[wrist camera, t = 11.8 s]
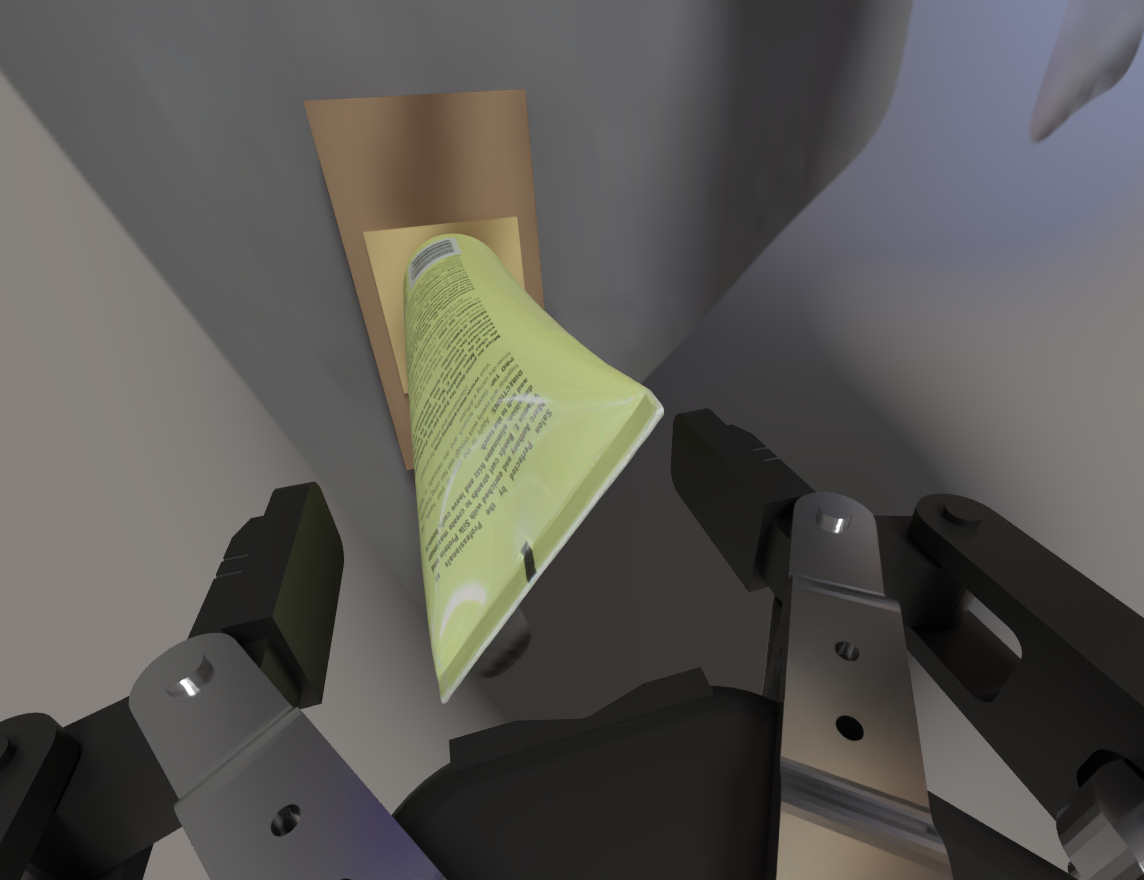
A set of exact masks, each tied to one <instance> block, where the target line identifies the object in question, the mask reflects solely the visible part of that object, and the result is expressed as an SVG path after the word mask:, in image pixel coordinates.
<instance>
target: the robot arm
mask: <svg viewBox="0 0 1144 880" xmlns="http://www.w3.org/2000/svg"><path fill="white" fill-rule="evenodd" d="M671 475H672V480H673V483H674V486H675V489H676V491H677V493H678V494H679V495H680V497H681V498H682V500H683V501H684V502H685V504H686V505H687V507H688V508H689V509H690V511H691V512H692V514H693V515H694V516H695V518H696V519H697V521H698V522H699V523H700V525H701V526H702V528H703V529H704V530H705V532H706V533H707V534H708V536H709V537H710V539H711V540H712V541H713V543H714V544H715V546H716V547H717V548H718V550H719V551H720V553H721V554H722V555H723V557H724V558H725V560H726V561H727V562H728V564H729V565H730V566H731V568H732V569H733V571H734V572H735V573H736V575H737V576H738V578H739V579H740V580H741V582H742V583H743V585H744V586H745V587H746V589H747V590H748V591H749V592H751V591H754V590H758V589H762V588H766V587H769V588H770V589H771V590H772V592H773V593H774V598H773V603H772V610H771V620H770V628H769V629H770V630H769V638H768V647H767V657H766V666H765V675H764V683H763V690H762V695H758V694H756V693H752V692H749V691H746V690H741V689H737V688H732V687H722V686H710V685H709V683H708V681H707V679H706V677H705V675H704V673H703V671H702V670H701V668H700V667H699V668H696V669H692V670H689V671H685V672H682V673H678V674H675V675H672V676H668V677H665V678H661V679H658V680H654V681H651V682H648V683H644V684H642V685H640V686H639V687H637V688H635V689H634V690H632V691H630V692H629V693H627V694H625V695H624V696H622V697H621V698H619V699H617V700H616V701H614V702H612V703H611V704H609V705H608V706H606V707H604V708H602V709H601V710H599V711H598V712H596V713H594V714H593V715H591V716H589V717H586V718H583V719H565V720H564V719H563V720H528V721H513V722H510V723H506V724H503V725H499V726H496V727H493V728H489V729H485V730H482V731H479V732H475V733H472V734H468V735H465V736H461V737H458V738H454V739H451V740H449V746H450V763H449V764H447V765H445V766H444V767H442V768H441V769H439V770H438V771H437V772H435V773H434V774H432V775H431V776H430V777H429V778H427V779H426V780H424V781H423V782H422V783H421V784H420V785H419V786H418V787H417V788H416V789H415V790H414V791H413V792H411V793H410V794H409V795H408V796H407V798H406V799H405V800H404V801H403V802H402V803H401V804H400V806H399V807H398V808H397V809H396V810H395V812H394V813H393V814H392V815H391V814H390V813H389V812H388V811H387V810H386V809H385V807H384V806H383V805H382V804H381V803H380V802H379V801H378V799H377V798H376V797H375V796H374V795H373V793H372V792H371V791H370V790H369V789H368V788H367V787H366V785H365V784H364V783H363V782H362V781H361V780H360V778H359V777H358V776H357V775H356V774H355V773H354V771H353V770H352V769H351V768H350V767H349V766H348V764H347V763H346V762H345V761H344V760H343V759H342V758H341V756H340V755H339V754H338V753H337V752H336V751H335V749H334V748H333V747H332V746H331V745H330V743H329V742H328V741H327V740H326V739H325V738H324V737H323V735H322V734H321V733H320V732H319V731H318V730H317V728H316V727H315V726H314V725H313V724H312V723H311V721H310V720H309V719H308V718H307V717H306V716H305V714H303V712H302V711H301V710H300V709H303V708H307V707H311V706H314V705H318V704H321V703H322V698H323V692H324V685H325V679H326V672H327V667H328V660H329V653H330V647H331V642H332V635H333V628H334V623H335V616H336V610H337V604H338V597H339V592H340V585H341V579H342V573H343V566H344V552H343V546H342V541H341V538H340V535H339V533H338V530H337V528H336V525H335V523H334V520H333V518H332V516H331V513H330V510H329V508H328V505H327V503H326V500H325V498H324V496H323V493H322V491H321V488H320V487H319V485H318V484H317V483H316V482H310V483H304V484H299V485H293V486H288V487H283V488H278V489H275V490H274V491H273V493H272V496H271V498H270V501H269V503H268V506H267V509H266V512H265V514H264V516H260V517H255V518H251V519H250V520H249V521H248V522H247V523H246V524H245V525H244V526H243V527H242V528H241V529H240V530H239V531H238V532H237V533H236V534H235V535H234V536H233V537H232V539H231V541H230V544H229V546H228V548H227V551H226V553H225V555H224V557H223V558H224V561H223V562H221V564H220V566H219V569H218V571H217V573H216V577H217V578H216V579H214V580H213V582H212V584H211V587H210V589H209V591H208V593H207V596H206V598H205V600H204V603H203V605H202V607H201V609H200V612H199V614H198V616H197V618H196V621H195V623H194V625H193V627H192V630H191V632H190V634H189V636H188V639H187V640H186V641H183V642H181V643H179V644H177V645H175V646H174V647H172V648H170V649H168V650H167V651H166V652H164V653H163V654H162V655H160V656H159V657H158V658H156V659H155V660H154V661H153V662H152V663H151V664H150V665H149V666H148V667H147V668H146V669H145V670H144V671H143V672H142V673H141V675H140V676H139V677H138V679H137V680H136V682H135V684H134V685H133V688H132V690H131V692H130V696H128V697H126V698H124V699H122V700H120V701H118V702H116V703H114V704H112V705H110V706H107V707H105V708H103V709H101V710H99V711H97V712H95V713H93V714H91V715H89V716H86V717H84V718H82V719H80V720H78V721H76V722H74V723H71V724H70V725H67V726H65V727H62V726H61V725H59V724H58V723H57V722H56V721H55V720H54V719H53V718H52V717H51V716H49V715H47V714H44V713H27V714H23V715H18V716H15V717H12V718H9V719H6V720H4V721H1V722H0V880H143V876H144V873H145V870H146V867H147V863H148V860H149V857H150V854H151V851H152V847H153V844H154V843H155V842H157V841H159V840H160V839H162V838H164V837H165V836H167V835H169V834H170V833H172V832H174V831H175V830H177V829H179V828H181V827H183V829H184V831H185V833H186V835H187V837H188V838H189V840H190V842H191V844H192V846H193V848H194V850H195V852H196V853H197V855H198V857H199V859H200V861H201V863H202V865H203V867H204V868H205V871H206V872H207V874H208V876H209V878H210V880H1144V618H1143V617H1142V616H1140V615H1139V614H1137V613H1136V612H1135V611H1133V610H1132V609H1130V608H1129V607H1128V606H1126V605H1125V604H1123V603H1122V602H1121V601H1119V600H1118V599H1116V598H1115V597H1114V596H1112V595H1111V594H1110V593H1108V592H1107V591H1105V590H1104V589H1103V588H1101V587H1100V586H1098V585H1097V584H1096V583H1094V582H1093V581H1091V580H1090V579H1089V578H1087V577H1086V576H1084V575H1083V574H1081V573H1080V572H1079V571H1077V570H1076V569H1075V568H1073V567H1072V566H1070V565H1069V564H1068V563H1066V562H1065V561H1063V560H1062V559H1061V558H1059V557H1058V556H1056V555H1055V554H1054V553H1052V552H1051V551H1049V550H1048V549H1046V548H1045V547H1044V546H1042V545H1041V544H1040V543H1038V542H1037V541H1035V540H1034V539H1033V538H1031V537H1030V536H1028V535H1027V534H1025V533H1024V532H1023V531H1021V530H1020V529H1019V528H1017V527H1016V526H1014V525H1013V524H1012V523H1010V522H1009V521H1007V520H1006V519H1005V518H1003V517H1002V516H1000V515H999V514H998V513H996V512H995V511H993V510H992V509H990V508H989V507H987V506H985V505H983V504H981V503H979V502H977V501H974V500H972V499H969V498H966V497H962V496H957V495H951V494H931V495H927V496H925V497H923V498H921V499H920V500H919V501H918V503H917V505H916V508H915V510H914V513H913V515H912V516H874V515H872V514H871V513H870V512H869V510H867V509H866V508H865V507H864V506H862V505H861V504H860V503H858V502H856V501H854V500H852V499H850V498H848V497H845V496H842V495H838V494H834V493H823V492H819V493H817V492H815V491H814V490H813V489H812V488H811V487H810V486H809V485H808V484H807V483H806V482H804V481H803V480H802V479H801V478H800V477H799V476H798V475H797V474H796V473H795V472H793V471H792V470H791V469H790V468H789V467H788V466H787V465H786V464H785V463H784V462H782V461H781V460H780V459H777V456H776V455H775V454H774V453H773V452H771V451H770V450H769V449H766V447H765V445H764V444H763V443H762V442H760V441H759V440H758V439H757V438H756V437H755V436H754V435H753V434H752V433H749V432H747V431H745V430H743V429H741V428H739V427H737V426H734V425H726V424H725V423H724V422H723V421H722V420H721V419H719V418H718V417H717V416H716V415H715V414H714V413H713V412H712V411H711V410H710V409H701V410H697V411H691V412H686V413H680V414H677V415H676V416H675V418H674V423H673V439H672V456H671ZM975 597H976V598H977V599H978V600H979V601H981V602H982V603H983V604H984V605H985V606H986V607H987V608H988V609H989V610H990V611H991V612H993V613H994V614H995V615H996V616H997V617H998V618H999V619H1000V620H1001V621H1003V622H1004V623H1005V624H1006V625H1007V626H1008V627H1009V628H1010V629H1011V630H1012V631H1013V632H1014V634H1015V635H1016V637H1017V638H1018V640H1019V642H1020V645H1021V649H1022V658H1021V659H1020V658H1019V657H1018V656H1017V655H1016V654H1015V653H1014V652H1013V651H1012V650H1011V649H1010V648H1009V647H1008V646H1006V645H1005V644H1004V643H1003V642H1002V641H1001V640H1000V639H999V638H998V637H997V636H996V635H995V634H993V632H992V631H990V629H988V628H987V627H986V626H985V625H984V624H983V623H982V622H981V621H980V620H979V619H978V618H977V617H976V616H975V615H974V614H973V613H971V612H970V611H969V610H968V609H969V607H970V605H971V603H972V601H973V600H974V598H975ZM906 648H907V649H906ZM907 650H908V651H909V652H910V653H911V654H912V655H913V656H914V657H915V659H916V660H917V661H918V662H919V664H920V665H921V666H922V667H923V668H924V669H925V670H926V672H927V673H928V674H929V675H930V676H931V677H932V678H933V680H934V681H935V682H936V683H937V684H938V685H939V687H940V688H941V689H942V690H943V691H944V692H945V694H946V695H947V696H948V697H949V698H950V699H951V701H952V702H953V703H954V704H955V705H956V706H957V707H958V709H959V710H960V711H961V712H962V713H963V714H964V715H965V717H966V718H967V719H968V720H969V721H970V722H971V724H972V725H973V726H974V727H975V728H976V729H977V731H978V732H979V733H980V734H981V735H982V736H983V737H984V738H985V740H986V741H987V742H988V743H989V744H990V745H991V747H992V748H993V749H994V750H995V751H996V753H997V754H998V755H999V756H1000V757H1001V758H1002V759H1003V761H1004V762H1005V763H1006V764H1007V765H1008V766H1009V768H1010V769H1011V770H1012V771H1013V772H1014V773H1015V774H1016V776H1017V777H1018V778H1019V779H1020V780H1021V781H1022V782H1023V784H1024V785H1025V786H1026V787H1027V788H1028V789H1029V791H1030V792H1031V793H1032V794H1033V795H1034V796H1035V797H1036V799H1037V800H1038V801H1039V802H1040V803H1041V805H1042V806H1043V807H1044V808H1045V809H1046V810H1047V811H1048V813H1049V814H1050V815H1051V816H1052V817H1053V818H1054V820H1055V821H1056V829H1057V833H1058V837H1059V840H1060V842H1061V844H1062V847H1063V849H1064V850H1065V852H1066V854H1067V856H1068V858H1069V859H1070V861H1069V863H1068V873H1069V874H1068V873H1067V872H1065V871H1063V870H1062V869H1060V868H1058V867H1056V866H1055V865H1053V864H1051V863H1050V862H1048V861H1046V860H1045V859H1043V858H1041V857H1039V856H1038V855H1036V854H1034V853H1032V852H1031V851H1029V850H1028V849H1026V848H1024V847H1022V846H1021V845H1019V844H1017V843H1016V842H1014V841H1012V840H1010V839H1009V838H1007V837H1005V836H1004V835H1002V834H1000V833H999V832H997V831H995V830H994V829H992V828H990V827H989V826H987V825H985V824H984V823H982V822H980V821H978V820H977V819H975V818H973V817H972V816H970V815H968V814H967V813H965V812H963V811H961V810H960V809H958V808H956V807H955V806H953V805H951V804H950V803H948V802H946V801H944V800H943V799H941V798H940V797H938V796H936V795H934V794H933V793H931V792H929V791H928V790H927V786H926V779H925V772H924V766H923V758H922V752H921V745H920V738H919V731H918V724H917V717H916V711H915V704H914V697H913V691H912V683H911V677H910V670H909V663H908V656H907Z"/></svg>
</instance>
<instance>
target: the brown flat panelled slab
mask: <svg viewBox="0 0 1144 880" xmlns="http://www.w3.org/2000/svg"><path fill="white" fill-rule="evenodd" d="M303 102H304V106H305V109H306V113H307V116H308V120H309V124H310V127H311V131H312V134H313V138H314V141H315V145H316V149H317V152H318V156H319V159H320V163H321V167H322V170H323V174H324V177H325V181H326V184H327V188H328V192H329V195H330V199H331V202H332V206H333V209H334V213H335V217H336V220H337V224H338V227H339V231H340V234H341V238H342V242H343V245H344V249H345V252H346V256H347V259H348V263H349V267H350V270H351V274H352V277H353V281H354V284H355V288H356V292H357V295H358V299H359V302H360V306H361V309H362V313H363V317H364V320H365V324H366V327H367V331H368V334H369V338H370V342H371V345H372V349H373V352H374V356H375V360H376V363H377V367H378V370H379V374H380V377H381V381H382V385H383V388H384V392H385V395H386V399H387V402H388V406H389V410H390V413H391V417H392V420H393V424H394V427H395V431H396V435H397V438H398V442H399V445H400V449H401V452H402V456H403V460H404V463H405V467H406V470H411V469H414V462H413V451H412V438H411V424H410V410H409V395H408V381H407V364H406V347H405V329H404V301H403V279H404V272H405V269H406V265H407V263H408V261H409V259H410V257H411V256H412V254H413V253H414V251H415V250H416V249H417V248H418V247H419V246H420V245H421V244H423V243H424V242H426V241H428V240H429V239H431V238H434V237H436V236H439V235H443V234H463V235H467V236H470V237H473V238H476V239H478V240H479V241H481V242H483V243H484V244H485V245H487V246H488V247H489V248H490V249H491V250H492V251H493V252H494V253H495V254H496V255H497V257H498V258H499V259H500V261H501V262H502V263H503V264H504V266H505V267H506V268H507V270H508V271H509V272H510V273H511V275H512V276H513V277H514V278H515V280H516V281H517V282H518V283H519V284H520V285H521V287H522V288H523V289H524V290H525V291H526V292H527V293H528V294H529V295H530V296H531V297H532V298H533V300H534V301H535V302H536V303H537V304H538V305H539V306H540V307H541V308H542V309H543V310H544V298H543V287H542V275H541V264H540V252H539V241H538V229H537V218H536V206H535V195H534V183H533V172H532V160H531V149H530V137H529V126H528V114H527V103H526V91H525V89H519V90H500V91H482V92H463V93H444V94H426V95H407V96H389V97H370V98H351V99H333V100H314V101H303ZM544 311H545V310H544Z"/></svg>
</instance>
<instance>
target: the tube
mask: <svg viewBox="0 0 1144 880" xmlns="http://www.w3.org/2000/svg"><path fill="white" fill-rule="evenodd" d="M403 301H404V329H405V347H406V364H407V381H408V395H409V410H410V424H411V438H412V451H413V462H414V473H415V484H416V497H417V509H418V522H419V534H420V547H421V559H422V570H423V579H424V589H425V598H426V607H427V616H428V624H429V633H430V639H431V647H432V655H433V660H434V666H435V671H436V676H437V679H438V682H439V689H440V698H441V702H442V703H444V704H445V703H447V701H448V700H449V698H450V697H451V695H452V693H453V692H454V691H455V689H456V688H457V687H458V686H459V684H460V683H461V682H462V680H463V679H464V677H465V676H466V675H467V673H468V672H469V671H470V669H471V668H472V666H473V665H474V664H475V662H476V661H477V660H478V658H479V657H480V656H481V654H482V653H483V652H484V650H485V649H486V648H487V646H488V645H489V644H490V643H491V641H492V640H493V639H494V637H495V636H496V635H497V633H498V632H499V631H500V629H501V628H502V627H503V625H504V624H505V623H506V621H507V620H508V619H509V617H510V616H511V615H512V614H513V612H514V611H515V610H516V608H517V607H518V605H519V604H520V602H521V601H522V600H523V598H524V596H525V595H526V594H527V593H528V591H529V590H530V589H531V587H532V586H533V584H534V583H535V582H536V581H537V579H538V578H539V577H540V575H541V574H542V573H543V571H544V570H545V569H546V568H547V566H548V565H549V564H550V563H551V561H552V560H553V559H554V558H555V556H556V555H557V554H558V552H559V551H560V550H561V548H562V547H563V546H564V545H565V543H566V542H567V541H568V539H569V538H570V537H571V535H572V534H573V533H574V532H575V530H576V529H577V527H578V526H579V525H580V524H581V522H582V521H583V520H584V519H585V517H586V516H587V515H588V513H589V512H590V511H591V510H592V508H593V507H594V506H595V504H596V503H597V502H598V500H599V499H600V498H601V497H602V495H603V494H604V493H605V492H606V490H607V489H608V488H609V487H610V485H611V484H612V483H613V482H614V480H615V479H616V478H617V476H618V475H619V474H620V472H621V471H622V470H623V469H624V468H625V466H626V465H627V464H628V462H629V461H630V460H631V458H632V457H633V455H634V454H635V453H636V451H637V450H638V448H639V447H640V446H641V445H642V443H643V442H644V441H645V440H646V438H647V437H648V436H649V434H650V433H651V432H652V430H653V429H654V427H655V426H656V425H657V423H658V422H659V420H660V419H661V418H662V416H663V415H664V409H663V406H662V405H661V403H660V402H659V401H658V400H657V398H656V397H655V396H654V395H653V393H652V392H651V391H650V390H649V389H647V388H646V387H644V386H643V385H641V384H639V383H638V382H636V381H634V380H633V379H631V378H629V377H628V376H626V375H625V374H623V373H621V372H620V371H618V370H616V369H615V368H613V367H611V366H609V365H608V364H606V363H605V362H604V361H602V360H601V359H600V358H598V357H597V356H596V355H594V354H593V353H592V352H591V351H589V350H588V349H587V348H586V347H584V346H583V345H582V344H581V343H579V342H578V341H577V340H576V339H575V338H574V337H572V336H571V335H570V334H569V333H568V332H567V331H565V330H564V329H563V328H562V327H561V326H560V325H559V324H558V323H557V322H556V321H555V320H554V319H553V318H552V317H550V316H549V315H548V314H547V313H546V312H545V311H544V310H543V309H542V308H541V307H540V306H539V305H538V304H537V303H536V302H535V301H534V300H533V298H532V297H531V296H530V295H529V294H528V293H527V292H526V291H525V290H524V289H523V288H522V287H521V285H520V284H519V283H518V282H517V281H516V280H515V278H514V277H513V276H512V275H511V273H510V272H509V271H508V270H507V268H506V267H505V266H504V264H503V263H502V262H501V261H500V259H499V258H498V257H497V255H496V254H495V253H494V252H493V251H492V250H491V249H490V248H489V247H488V246H487V245H485V244H484V243H483V242H481V241H479V240H478V239H476V238H473V237H470V236H467V235H463V234H443V235H439V236H436V237H434V238H431V239H429V240H428V241H426V242H424V243H423V244H421V245H420V246H419V247H418V248H417V249H416V250H415V251H414V253H413V254H412V256H411V257H410V259H409V261H408V263H407V265H406V269H405V272H404V279H403Z"/></svg>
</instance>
